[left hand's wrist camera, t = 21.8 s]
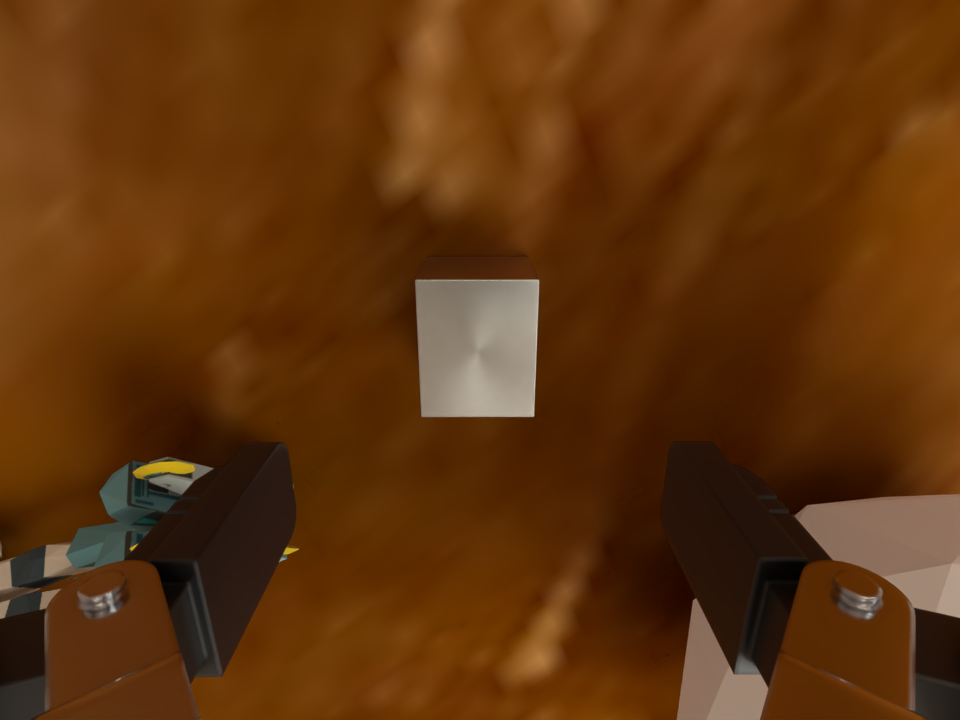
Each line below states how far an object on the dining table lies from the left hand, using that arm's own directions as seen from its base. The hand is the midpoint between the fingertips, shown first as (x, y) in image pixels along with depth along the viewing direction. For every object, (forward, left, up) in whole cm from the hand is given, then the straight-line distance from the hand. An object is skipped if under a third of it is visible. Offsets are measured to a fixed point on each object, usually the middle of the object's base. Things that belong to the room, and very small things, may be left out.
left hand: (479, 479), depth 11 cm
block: (0, 0, -12) cm, 12 cm away
